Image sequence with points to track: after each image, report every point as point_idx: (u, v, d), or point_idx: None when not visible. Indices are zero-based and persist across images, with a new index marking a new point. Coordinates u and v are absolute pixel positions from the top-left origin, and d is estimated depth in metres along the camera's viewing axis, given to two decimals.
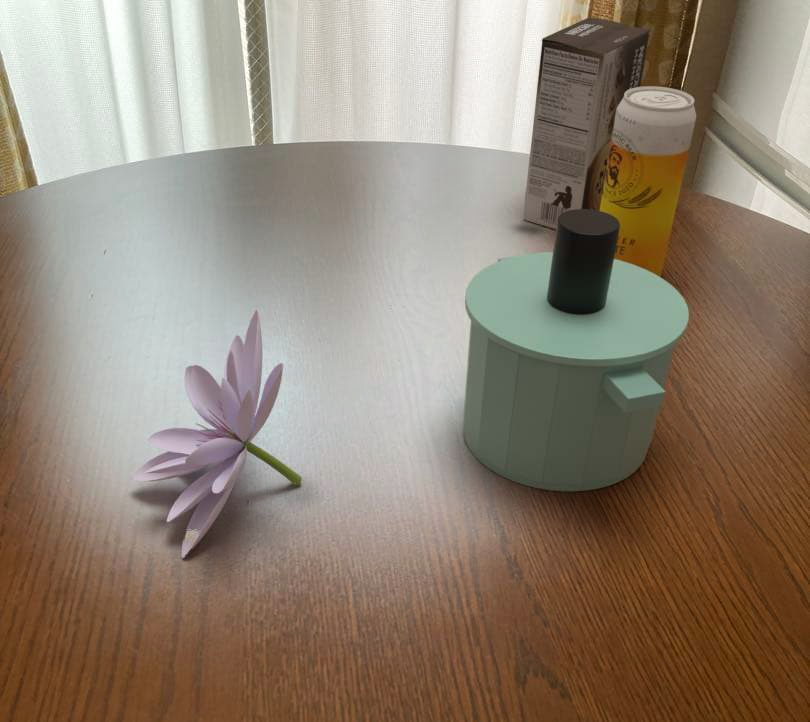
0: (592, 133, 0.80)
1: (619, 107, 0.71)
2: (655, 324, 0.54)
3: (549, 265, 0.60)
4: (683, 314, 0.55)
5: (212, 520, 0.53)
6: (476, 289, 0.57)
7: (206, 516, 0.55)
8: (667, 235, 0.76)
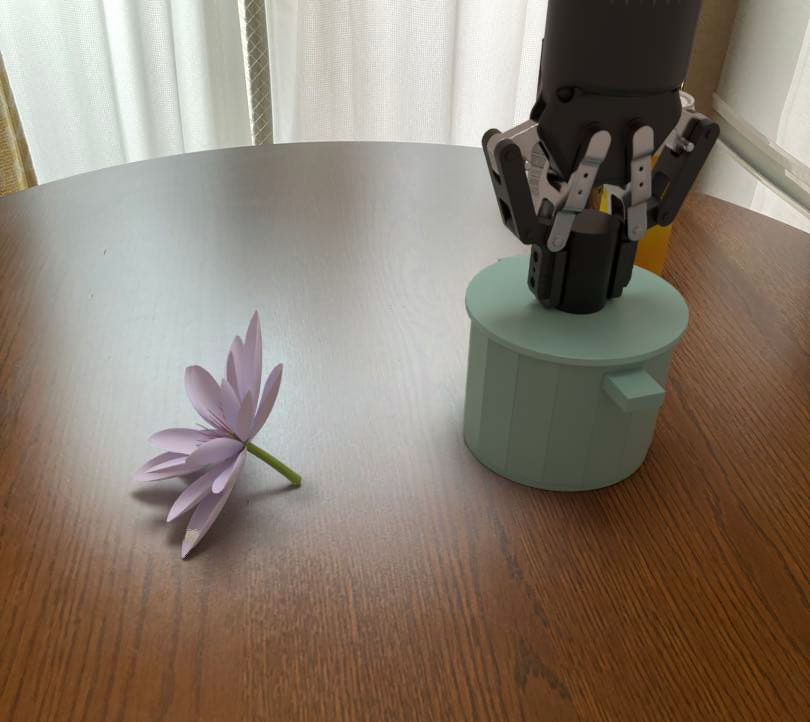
0: None
1: None
2: (655, 324, 0.54)
3: None
4: (683, 314, 0.55)
5: (212, 520, 0.53)
6: (476, 289, 0.57)
7: (206, 516, 0.55)
8: (667, 235, 0.76)
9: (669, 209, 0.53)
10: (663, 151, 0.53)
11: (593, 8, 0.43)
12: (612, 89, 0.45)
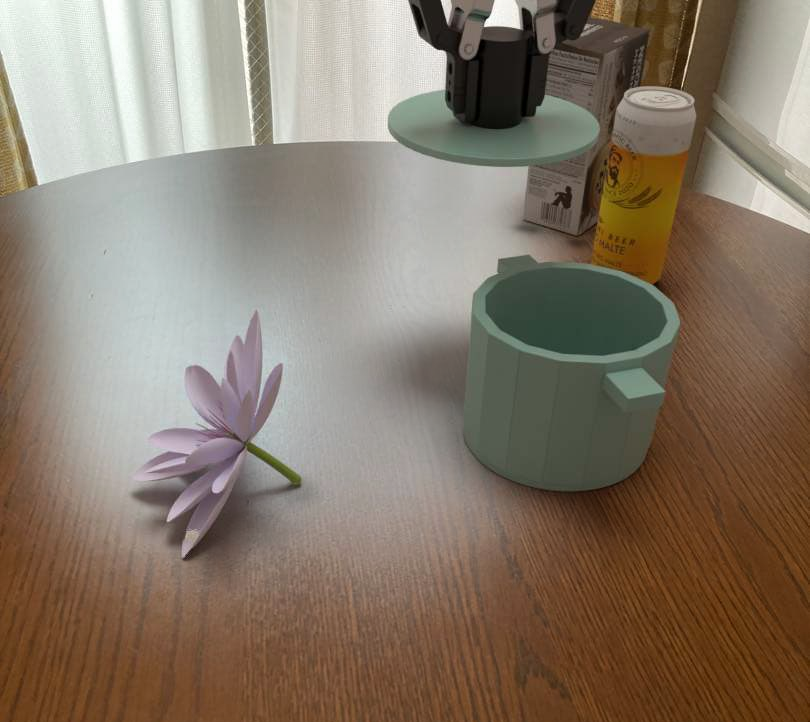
0: None
1: (619, 107, 0.71)
2: (566, 136, 0.57)
3: None
4: (594, 129, 0.58)
5: (212, 520, 0.53)
6: (399, 111, 0.60)
7: (205, 516, 0.55)
8: (667, 235, 0.76)
9: (576, 22, 0.56)
10: None
11: None
12: None
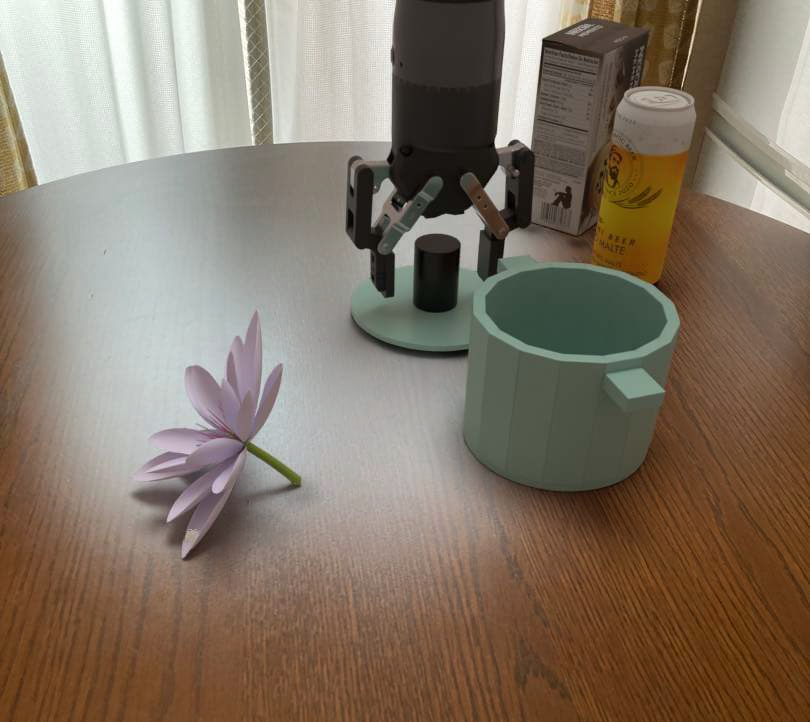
0: (592, 133, 0.80)
1: (619, 107, 0.71)
2: None
3: None
4: None
5: (212, 520, 0.53)
6: (360, 293, 0.75)
7: (206, 516, 0.55)
8: (667, 235, 0.76)
9: (523, 216, 0.71)
10: None
11: (416, 93, 0.61)
12: (435, 148, 0.63)
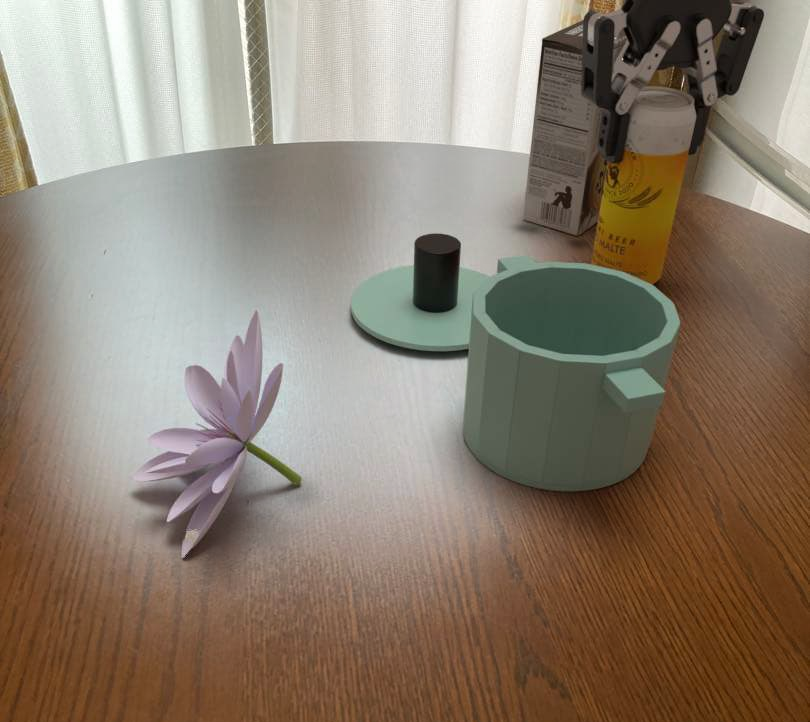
0: (592, 133, 0.80)
1: None
2: None
3: None
4: None
5: (212, 520, 0.53)
6: (360, 293, 0.75)
7: (205, 516, 0.55)
8: (667, 235, 0.76)
9: (734, 81, 0.70)
10: (723, 37, 0.70)
11: None
12: None
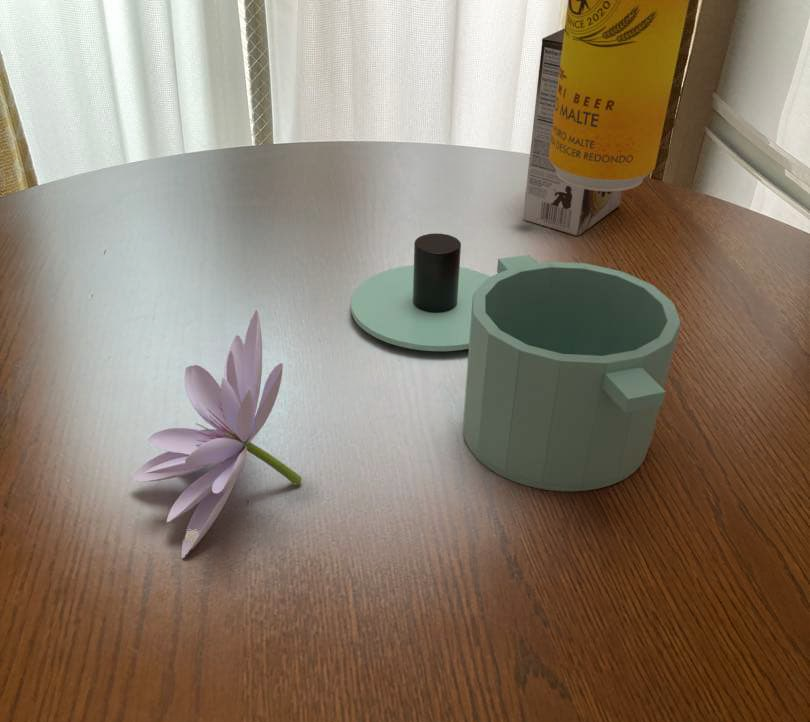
0: None
1: None
2: None
3: None
4: None
5: (212, 520, 0.53)
6: (360, 293, 0.75)
7: (206, 516, 0.55)
8: (665, 97, 0.49)
9: None
10: None
11: None
12: None
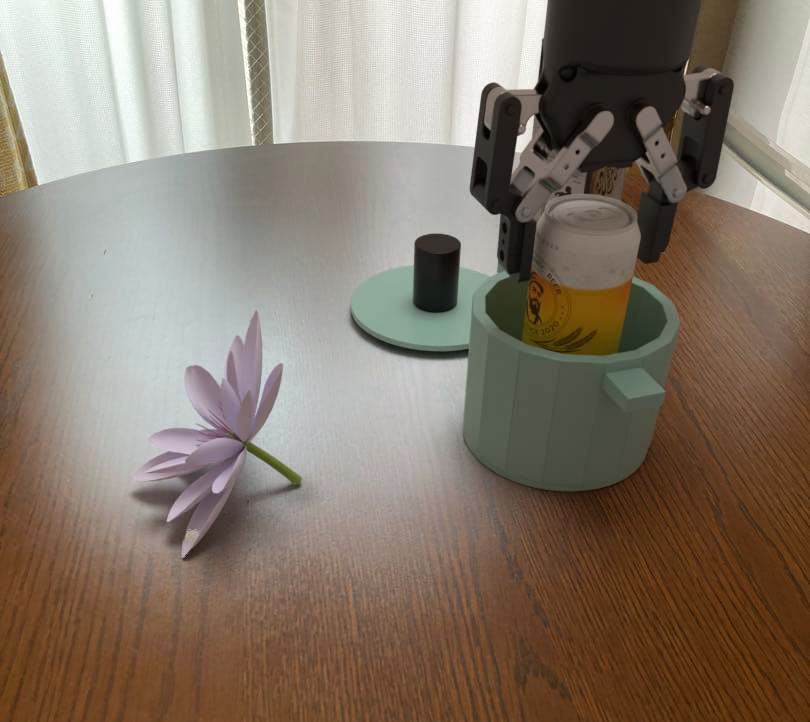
0: None
1: (539, 224, 0.53)
2: None
3: None
4: None
5: (212, 520, 0.53)
6: (360, 293, 0.75)
7: (206, 516, 0.55)
8: None
9: (707, 171, 0.52)
10: (685, 115, 0.52)
11: None
12: (615, 67, 0.44)
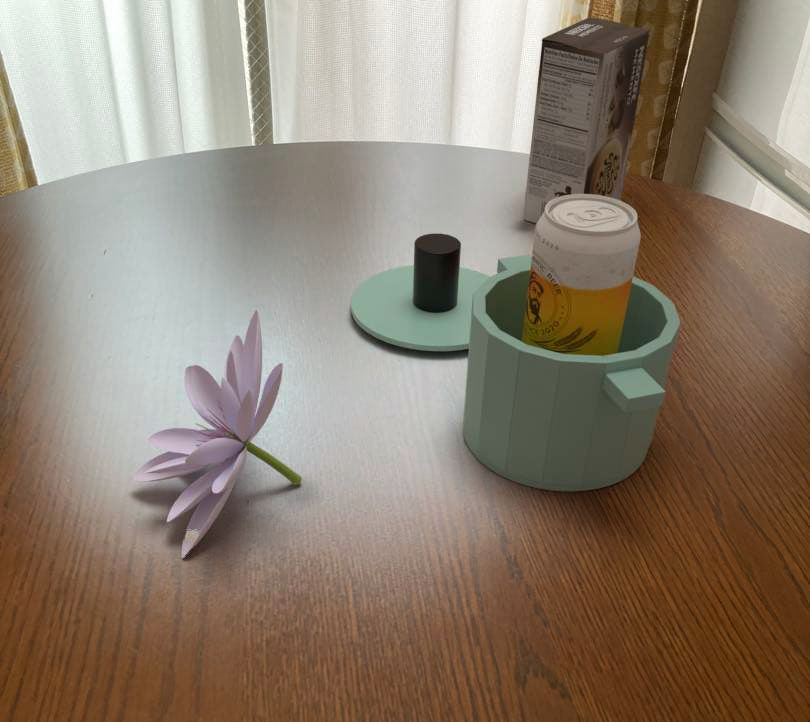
0: (592, 133, 0.80)
1: (539, 224, 0.53)
2: None
3: None
4: None
5: (212, 520, 0.53)
6: (360, 293, 0.75)
7: (206, 516, 0.55)
8: None
9: None
10: None
11: None
12: None
